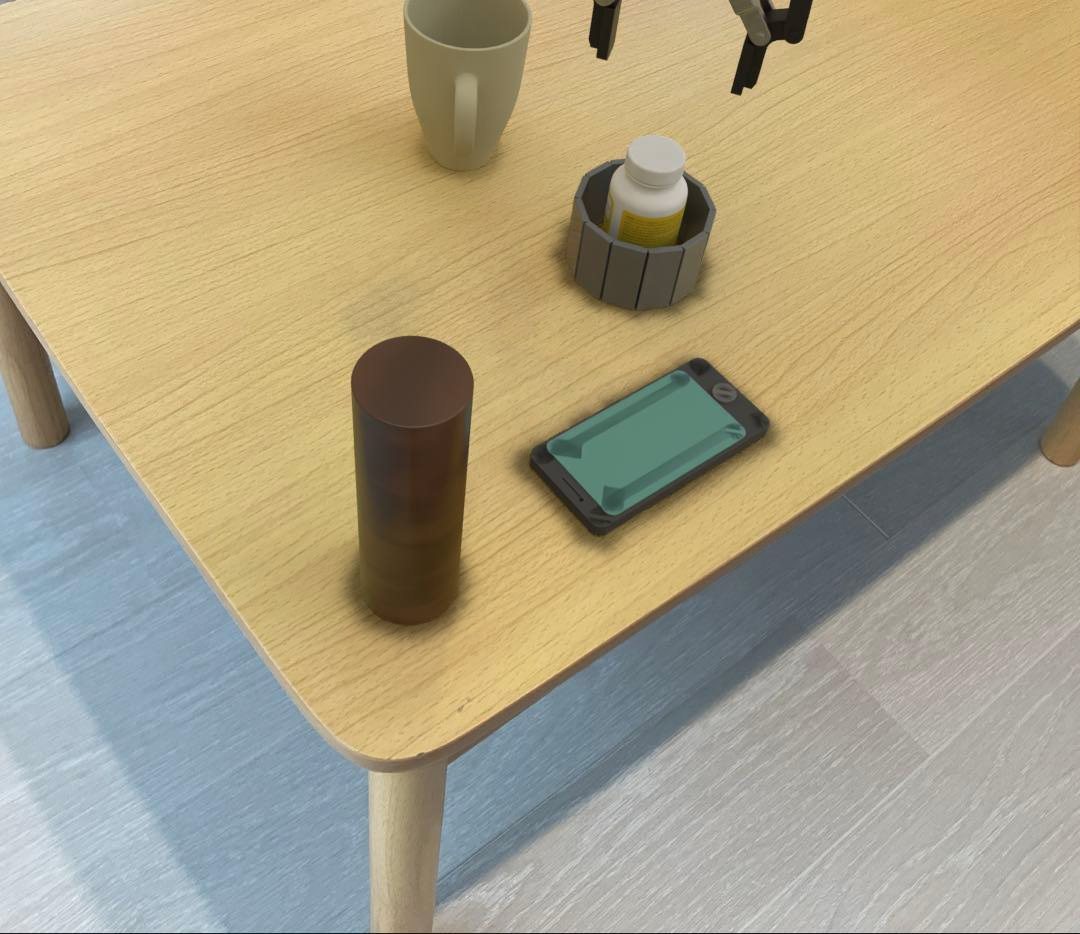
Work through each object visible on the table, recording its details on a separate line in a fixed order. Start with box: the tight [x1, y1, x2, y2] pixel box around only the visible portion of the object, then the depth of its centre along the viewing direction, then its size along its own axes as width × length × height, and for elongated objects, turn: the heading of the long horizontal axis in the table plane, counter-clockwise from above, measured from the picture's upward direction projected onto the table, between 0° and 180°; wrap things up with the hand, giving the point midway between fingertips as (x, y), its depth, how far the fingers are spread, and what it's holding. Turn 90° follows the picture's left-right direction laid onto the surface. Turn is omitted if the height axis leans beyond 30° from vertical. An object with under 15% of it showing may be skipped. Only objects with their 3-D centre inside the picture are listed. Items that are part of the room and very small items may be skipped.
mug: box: [402, 0, 533, 172], centre depth 86 cm, size 11×10×12 cm
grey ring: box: [565, 158, 717, 312], centre depth 84 cm, size 10×10×6 cm
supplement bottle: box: [601, 134, 688, 249], centre depth 82 cm, size 5×5×10 cm
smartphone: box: [528, 357, 771, 537], centre depth 75 cm, size 7×1×15 cm
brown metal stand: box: [350, 335, 475, 626], centre depth 61 cm, size 6×6×18 cm
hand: (671, 70), depth 73 cm, fingers open, 8 cm apart
